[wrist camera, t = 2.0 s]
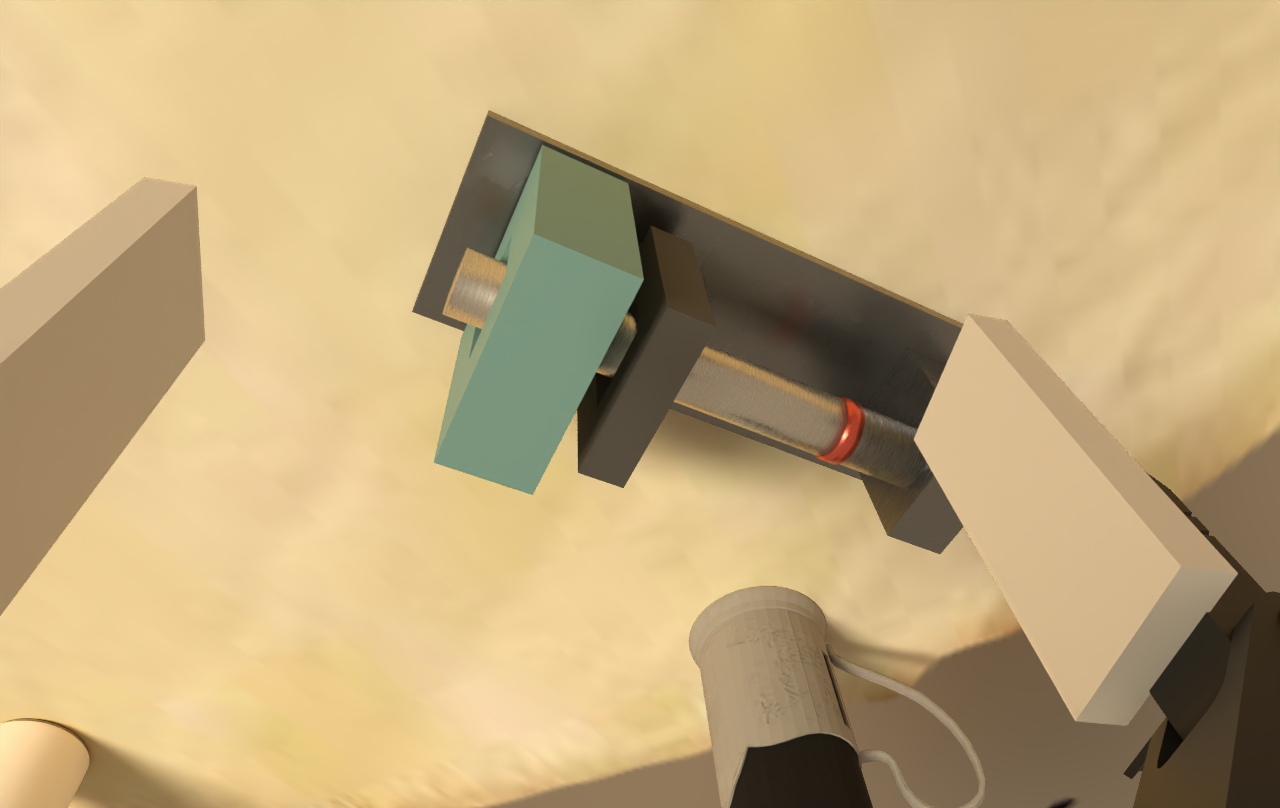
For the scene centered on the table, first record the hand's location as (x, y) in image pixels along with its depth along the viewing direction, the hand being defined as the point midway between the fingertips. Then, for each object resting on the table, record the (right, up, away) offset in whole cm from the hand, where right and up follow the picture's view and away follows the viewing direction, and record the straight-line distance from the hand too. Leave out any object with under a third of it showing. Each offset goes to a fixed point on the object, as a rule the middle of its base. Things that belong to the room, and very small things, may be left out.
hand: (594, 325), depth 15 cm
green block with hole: (-4, +5, +25) cm, 26 cm away
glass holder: (+11, -15, +41) cm, 45 cm away
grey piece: (+4, +3, +29) cm, 29 cm away
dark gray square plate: (0, +3, +25) cm, 26 cm away
